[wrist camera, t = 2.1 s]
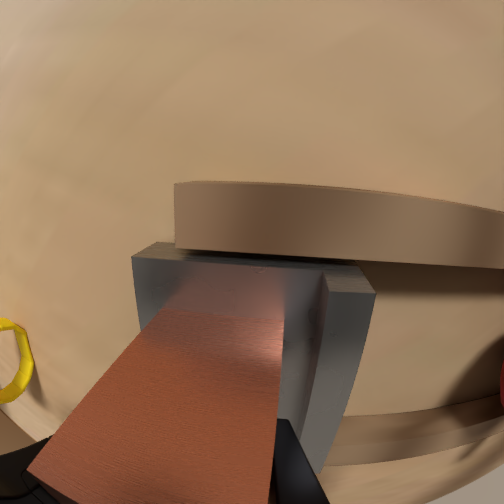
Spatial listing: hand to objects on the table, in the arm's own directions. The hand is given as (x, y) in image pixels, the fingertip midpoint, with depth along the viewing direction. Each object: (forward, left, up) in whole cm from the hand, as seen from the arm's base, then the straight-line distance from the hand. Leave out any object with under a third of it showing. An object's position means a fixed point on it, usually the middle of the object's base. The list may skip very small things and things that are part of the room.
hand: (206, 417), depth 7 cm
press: (-1, 0, -4) cm, 4 cm away
